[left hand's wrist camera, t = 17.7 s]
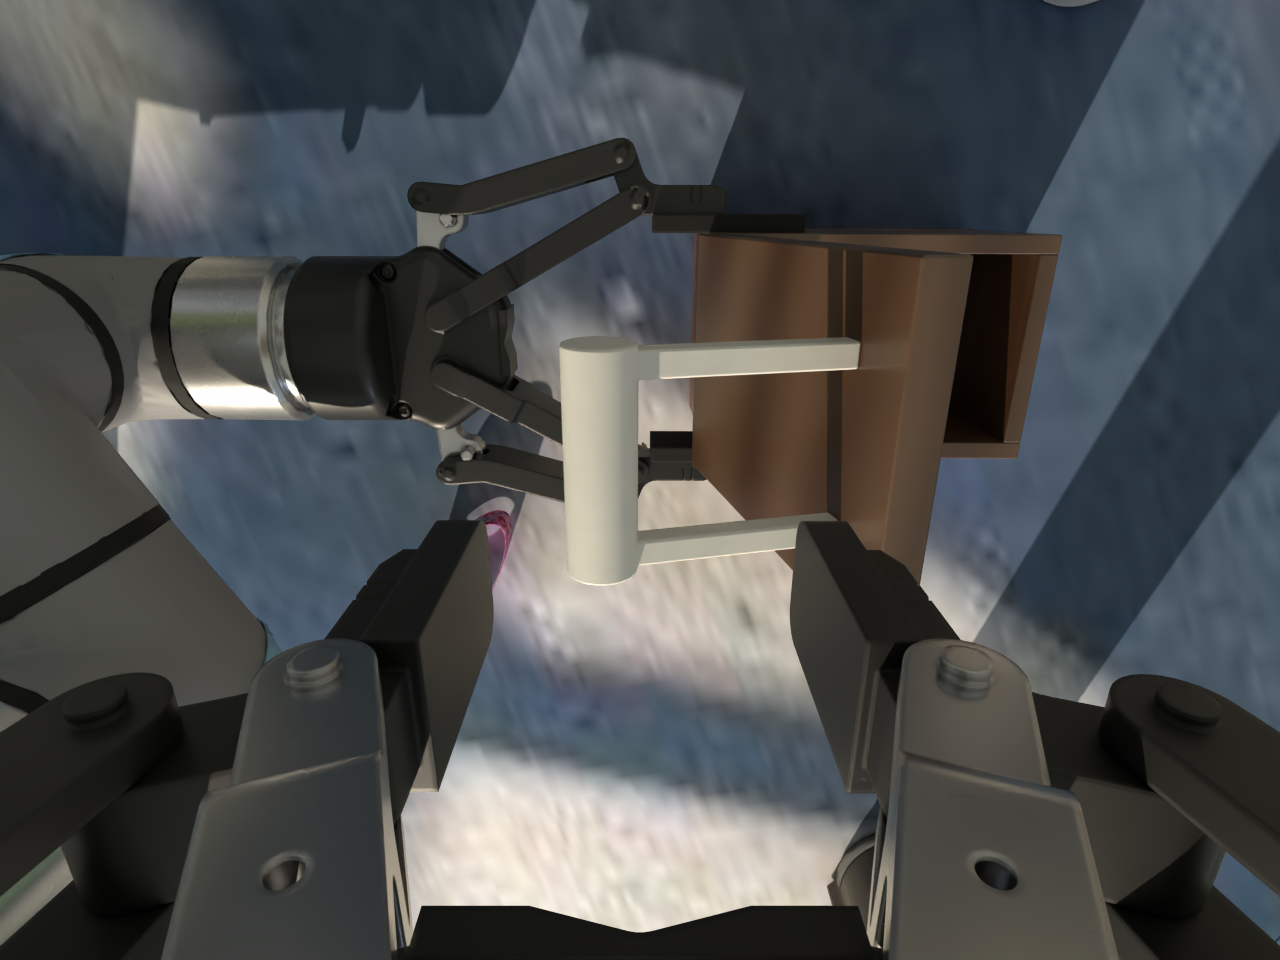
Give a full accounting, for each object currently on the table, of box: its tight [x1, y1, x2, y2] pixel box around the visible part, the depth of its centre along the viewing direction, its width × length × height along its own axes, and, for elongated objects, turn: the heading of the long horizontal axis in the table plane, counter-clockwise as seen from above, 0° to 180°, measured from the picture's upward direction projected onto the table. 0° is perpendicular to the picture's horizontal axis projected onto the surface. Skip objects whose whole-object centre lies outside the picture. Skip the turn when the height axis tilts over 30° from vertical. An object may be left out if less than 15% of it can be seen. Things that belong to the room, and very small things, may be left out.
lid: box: [559, 234, 973, 586], centre depth 23 cm, size 15×10×9 cm
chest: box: [690, 228, 1062, 459], centre depth 35 cm, size 14×10×10 cm
